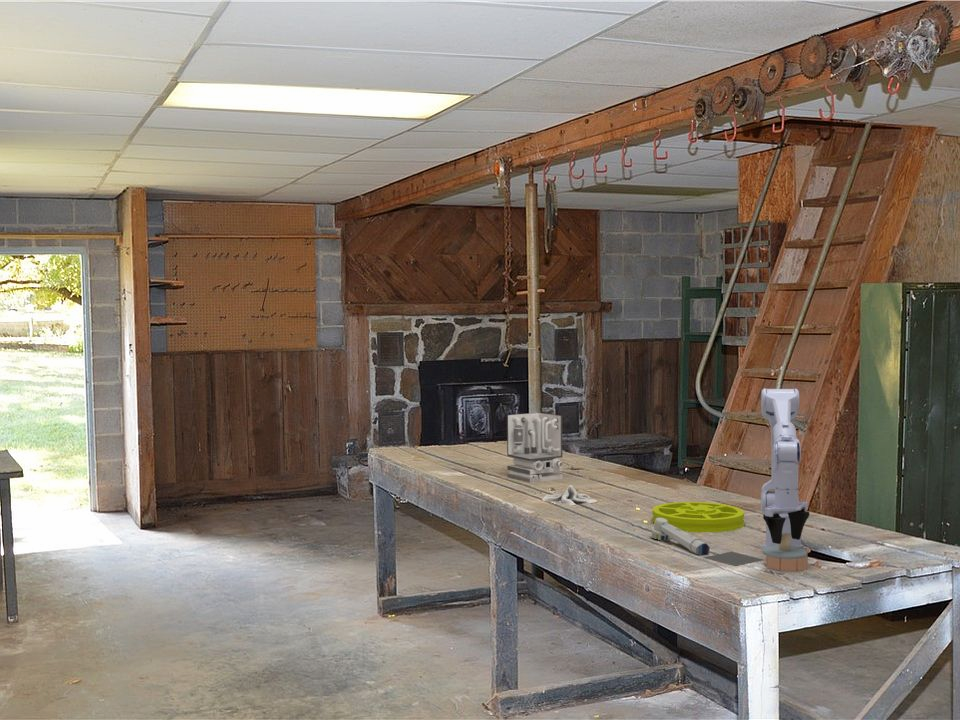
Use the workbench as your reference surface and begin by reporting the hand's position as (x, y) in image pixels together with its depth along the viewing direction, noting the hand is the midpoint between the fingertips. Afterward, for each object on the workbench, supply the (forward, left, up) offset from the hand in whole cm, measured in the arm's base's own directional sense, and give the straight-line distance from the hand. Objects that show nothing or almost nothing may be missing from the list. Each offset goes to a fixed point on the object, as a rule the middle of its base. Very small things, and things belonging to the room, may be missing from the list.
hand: (786, 541), depth 251 cm
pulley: (-22, -51, -7) cm, 56 cm away
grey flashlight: (+5, -32, -7) cm, 34 cm away
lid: (0, 0, -3) cm, 3 cm away
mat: (+5, -13, -7) cm, 15 cm away
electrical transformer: (-32, -147, -7) cm, 151 cm away
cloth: (-12, -101, -8) cm, 102 cm away
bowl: (0, 0, -7) cm, 7 cm away
